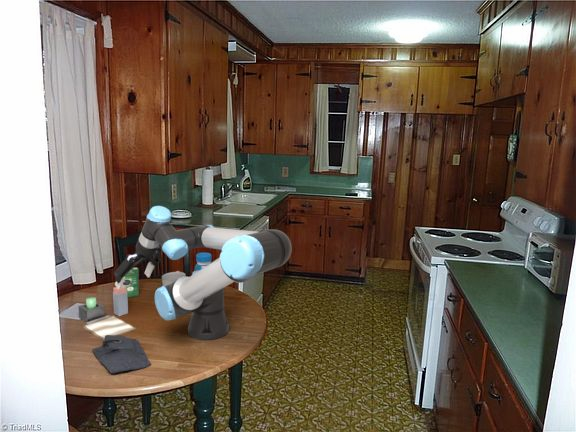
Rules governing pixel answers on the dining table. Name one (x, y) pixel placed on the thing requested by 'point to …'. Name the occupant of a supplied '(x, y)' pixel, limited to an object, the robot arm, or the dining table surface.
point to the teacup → (172, 277)
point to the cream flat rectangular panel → (108, 326)
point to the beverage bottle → (202, 260)
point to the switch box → (91, 312)
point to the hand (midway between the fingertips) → (132, 280)
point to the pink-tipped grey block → (120, 301)
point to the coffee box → (131, 283)
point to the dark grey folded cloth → (121, 354)
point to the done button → (91, 302)
